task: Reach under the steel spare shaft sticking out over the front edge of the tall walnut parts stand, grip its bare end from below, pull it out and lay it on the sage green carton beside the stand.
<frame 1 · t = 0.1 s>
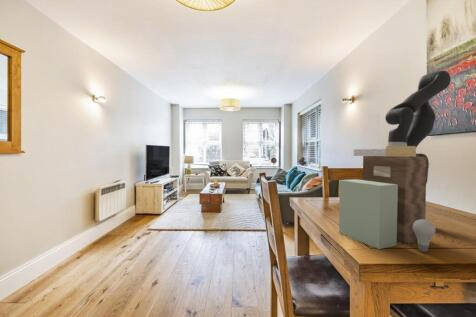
hand: (394, 188, 106), 17 cm above the table, tool pointing down, fingers open, 8 cm apart
lightbulb: (423, 252, 80), on the table
parts stand: (391, 234, 97), on the table
spare shaft: (383, 156, 100), point 32 cm above the table, touching parts stand
sage green carton: (365, 238, 92), on the table
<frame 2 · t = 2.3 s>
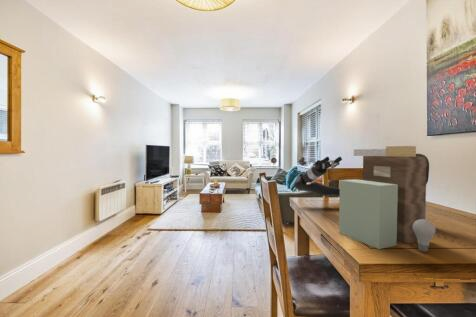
hand: (334, 158, 126), 31 cm above the table, tool pointing upward, fingers open, 8 cm apart
nothing on the table moved.
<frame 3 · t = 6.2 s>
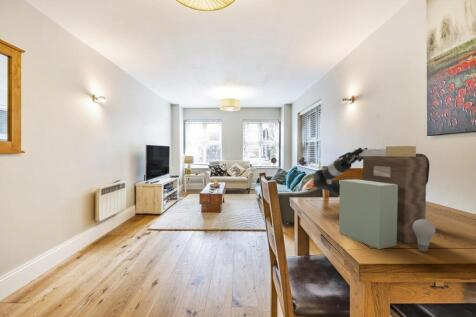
hand: (364, 149, 109), 35 cm above the table, tool pointing upward, fingers closed on spare shaft, 3 cm apart
spare shaft: (383, 156, 100), point 32 cm above the table, touching gripper, parts stand
everything else where it was.
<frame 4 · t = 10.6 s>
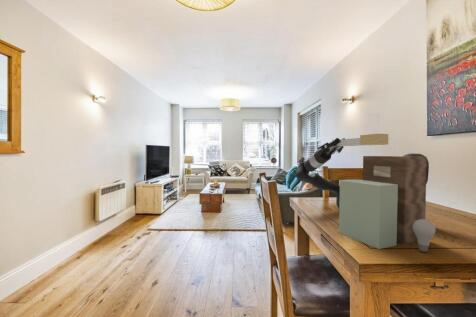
hand: (341, 139, 110), 39 cm above the table, tool pointing upward, fingers closed on spare shaft, 3 cm apart
spare shaft: (358, 145, 101), point 37 cm above the table, touching gripper
everything else where it was.
when the fingers open (26 cm above the table, at t = 14.8 s): spare shaft drops 1 cm, resting on sage green carton.
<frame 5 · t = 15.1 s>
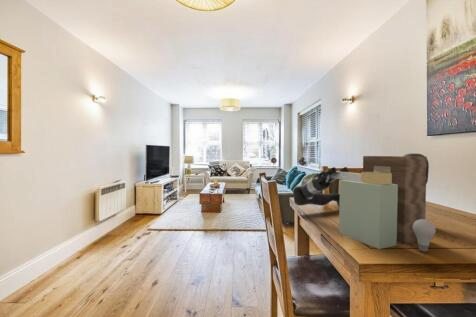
hand: (340, 169, 103), 26 cm above the table, tool pointing upward, fingers open, 6 cm apart
spare shaft: (359, 181, 94), point 22 cm above the table, touching sage green carton
everything else where it was.
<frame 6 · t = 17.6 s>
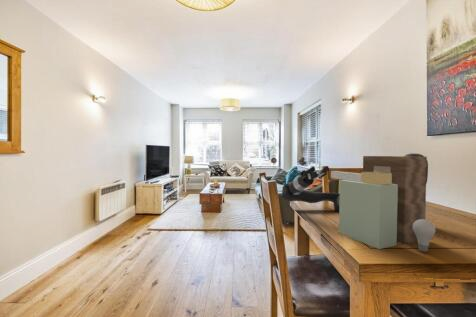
hand: (321, 167, 115), 26 cm above the table, tool pointing upward, fingers open, 8 cm apart
nothing on the table moved.
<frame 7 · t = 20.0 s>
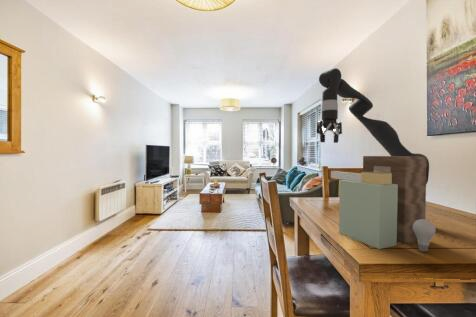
hand: (329, 142, 119), 39 cm above the table, tool pointing down, fingers open, 8 cm apart
nothing on the table moved.
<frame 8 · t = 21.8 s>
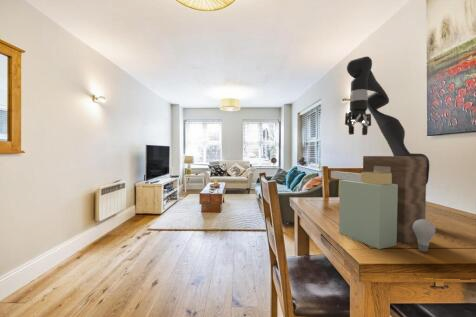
hand: (358, 134, 114), 42 cm above the table, tool pointing down, fingers open, 8 cm apart
nothing on the table moved.
at the end: spare shaft inside the target area on the sage green carton (1.1 cm from its centre), point 22.0 cm above the sage green carton's base; spare shaft touching sage green carton; the gripper is holding nothing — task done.
